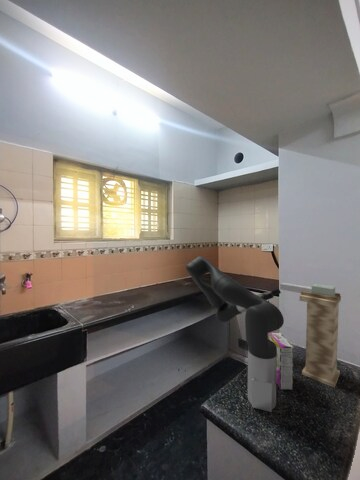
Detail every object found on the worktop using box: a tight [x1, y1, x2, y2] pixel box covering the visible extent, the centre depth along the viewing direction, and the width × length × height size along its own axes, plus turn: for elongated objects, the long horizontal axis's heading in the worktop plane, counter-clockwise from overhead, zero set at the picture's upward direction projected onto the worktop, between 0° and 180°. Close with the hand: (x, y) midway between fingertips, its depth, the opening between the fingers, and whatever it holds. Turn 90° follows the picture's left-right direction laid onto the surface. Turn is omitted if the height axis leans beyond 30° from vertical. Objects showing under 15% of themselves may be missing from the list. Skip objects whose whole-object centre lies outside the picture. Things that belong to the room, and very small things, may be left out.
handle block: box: [279, 282, 336, 297], centre depth 92 cm, size 20×5×4 cm, turn 46°
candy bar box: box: [268, 332, 294, 391], centre depth 86 cm, size 11×5×16 cm, turn 179°
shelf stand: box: [298, 291, 342, 389], centre depth 89 cm, size 12×11×33 cm
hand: (276, 292), depth 101 cm, fingers open, 8 cm apart
